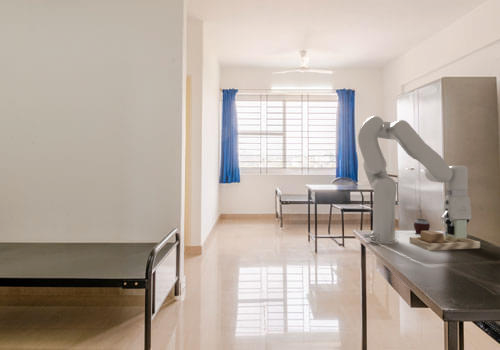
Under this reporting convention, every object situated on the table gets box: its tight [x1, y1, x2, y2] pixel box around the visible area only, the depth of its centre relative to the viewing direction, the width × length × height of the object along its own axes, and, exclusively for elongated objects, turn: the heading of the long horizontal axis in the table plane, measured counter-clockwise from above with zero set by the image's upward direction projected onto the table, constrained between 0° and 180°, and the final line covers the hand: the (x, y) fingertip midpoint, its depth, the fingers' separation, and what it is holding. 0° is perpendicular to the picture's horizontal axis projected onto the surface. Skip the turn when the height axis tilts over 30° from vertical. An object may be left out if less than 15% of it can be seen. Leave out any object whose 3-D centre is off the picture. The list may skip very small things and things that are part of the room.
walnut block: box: [420, 230, 445, 244], centre depth 123 cm, size 6×6×6 cm
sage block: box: [447, 219, 468, 239], centre depth 124 cm, size 5×5×8 cm
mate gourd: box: [413, 204, 431, 235], centre depth 146 cm, size 8×8×15 cm
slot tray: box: [409, 235, 481, 251], centre depth 124 cm, size 24×12×4 cm, turn 98°
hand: (456, 233), depth 124 cm, fingers closed on sage block, 5 cm apart
